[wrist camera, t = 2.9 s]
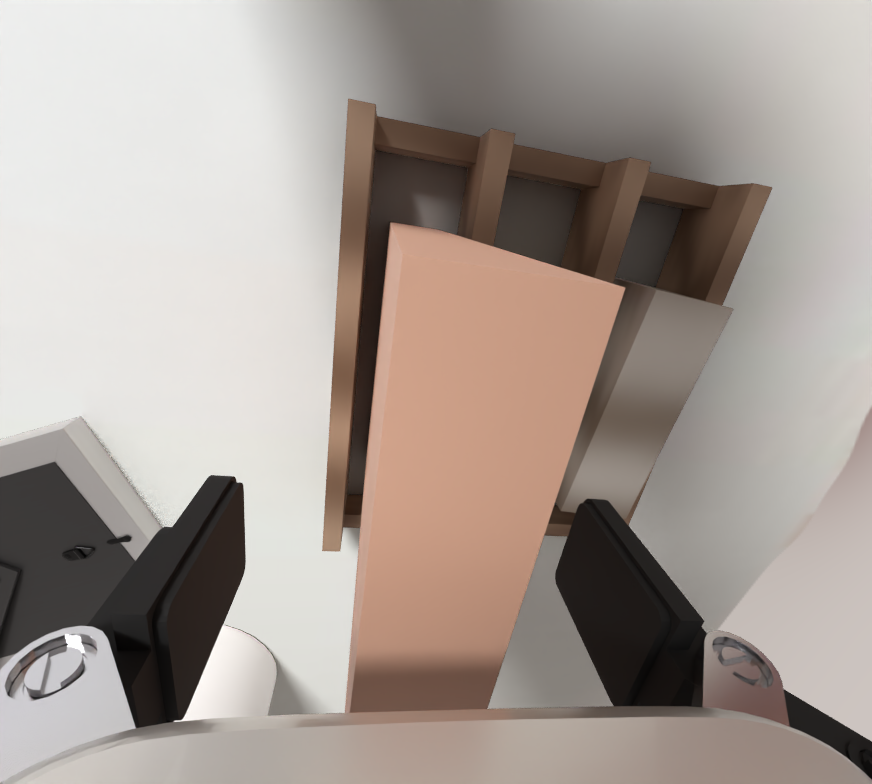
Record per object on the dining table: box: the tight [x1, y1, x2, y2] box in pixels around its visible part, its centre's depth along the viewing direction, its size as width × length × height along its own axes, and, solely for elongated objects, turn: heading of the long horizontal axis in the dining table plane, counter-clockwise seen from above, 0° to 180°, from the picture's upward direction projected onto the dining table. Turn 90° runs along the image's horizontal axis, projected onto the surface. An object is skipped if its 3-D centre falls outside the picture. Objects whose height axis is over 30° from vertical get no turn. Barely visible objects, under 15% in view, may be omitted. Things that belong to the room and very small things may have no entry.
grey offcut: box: [555, 277, 733, 519], centre depth 23 cm, size 12×4×6 cm, turn 167°
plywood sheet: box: [345, 222, 625, 713], centre depth 15 cm, size 14×2×18 cm, turn 171°
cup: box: [174, 625, 277, 722], centre depth 27 cm, size 12×12×12 cm
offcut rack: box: [322, 99, 772, 551], centre depth 22 cm, size 22×18×4 cm
